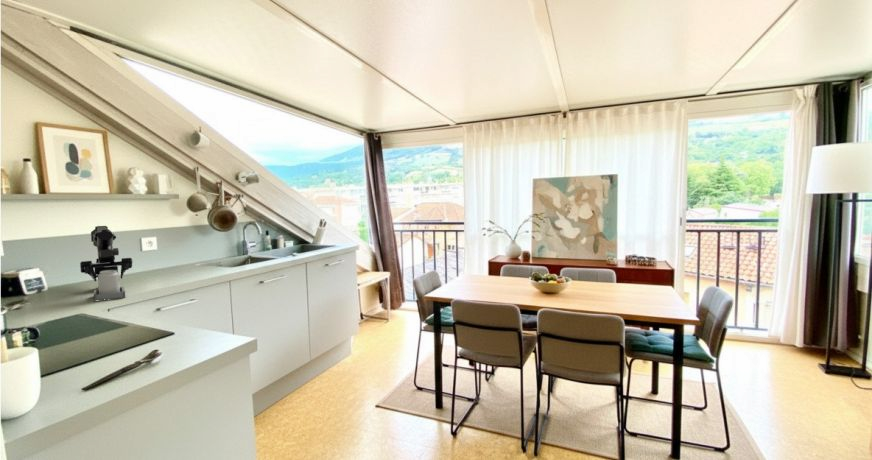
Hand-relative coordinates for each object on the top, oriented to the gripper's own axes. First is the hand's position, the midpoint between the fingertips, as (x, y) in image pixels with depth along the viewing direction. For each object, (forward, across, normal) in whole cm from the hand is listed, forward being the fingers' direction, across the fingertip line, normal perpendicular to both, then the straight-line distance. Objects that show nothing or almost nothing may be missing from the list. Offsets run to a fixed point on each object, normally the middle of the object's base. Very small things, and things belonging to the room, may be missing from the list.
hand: (108, 279), depth 179 cm
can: (+5, 0, +6) cm, 8 cm away
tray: (+6, 0, +7) cm, 9 cm away
